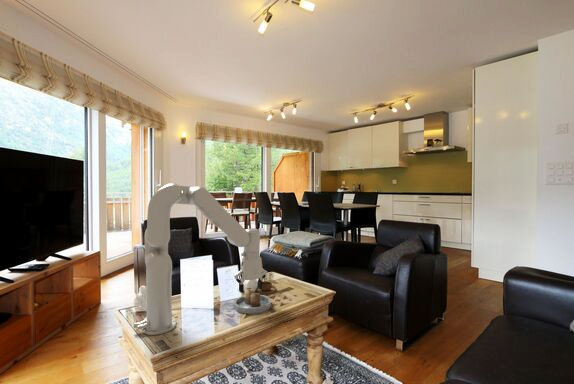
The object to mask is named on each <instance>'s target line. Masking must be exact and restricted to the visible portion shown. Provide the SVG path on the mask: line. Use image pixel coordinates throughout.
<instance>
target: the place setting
mask: <svg viewBox="0 0 574 384" xmlns="http://www.w3.org/2000/svg"><path fill="white" fill-rule="evenodd" d="M247 289H251V288H247ZM271 289H273V290H271ZM258 290H259V291H258ZM270 290H271V291H270ZM275 292H277V286H275V285H273V283H272V282H271V281H269V280H268V281H267V280H266V281H265V280H263V281H262V289H261V290H260V289H259V288H257V289H256V290H255V293H260V295H269V294H270V295H271V294H274V293H275Z"/></svg>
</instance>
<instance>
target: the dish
mask: <svg viewBox="0 0 574 384" xmlns="http://www.w3.org/2000/svg"><path fill="white" fill-rule="evenodd" d="M271 307H272V298H270V297H269V296H267V295H266V294H260V307H252V308H251V304H245V295H241V296H239V297H237V298H235V299H234V300H233V307H232V308H233V309H234V310H235V312H238V313H241V314H247V315H252V314H260V313H263V312H266V311H268V310H269V309H270V308H271Z"/></svg>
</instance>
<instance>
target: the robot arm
mask: <svg viewBox="0 0 574 384" xmlns="http://www.w3.org/2000/svg"><path fill="white" fill-rule="evenodd" d="M175 204H178V205H191V206H192V205H194V207H196V209H197V210H198V211H200V212H201V214H202V215H203V216H204V217H205V218H206V220H208V222H210V223H211V224H212V225H213V226H215V227H216V228H218V229H220V230H221V231H222V233H224V234H225V235H226V239H227V241H228V242H229V244H231V245H233V246H236V247H238V248H243V252H242V253H241V254H240V255H241V257H242V259H241V264H240V270H239V271H237V272H236V273H235V274H234V275H233V277H234V279H235V282H236V281H237V282H238V283H239V289H238V291H239V292H240V293H241V294H243V293H245V291H244V284H243V282H244V281H245V280H253V279H257V280H258V285H257V288H259V289H258V290H259V291H262V290H261V289H262V282H263V281H264V280H265V278H266V275H267V274H268V270H266V269H264V268H263V262H262V261H263V260H262V257H261V256H260V248H261V247H260V245H261V243H260V242H261V232H260V229H257V228H247V229H245V227H243V226H242V224H240V222H239V221H237V219H236V218H234V217H233V216H232V215H231V214H230V213H229V212H228V211H227V210H226V209H225V208H224V206H223V205H222V204H221V203H220V202H219V201H217V199H216V198H215V197H214V196H213V195H212V193H211V192H209V190H208V189H207V188H205V187H204V186H189V185H181V184H180V185H179V184H176V183H167V184H164V185H163V186H162V187H161V188H159V189H158V190H157V191H156V192H155V193H153V195H152V197H151V198H150V200H149V202H148V204H147V205H148V206H147V220H146V229H145V230H144V231H145V232H144V238H143V239H144V263H145V273H146V275H145V276H146V277H145V280H146V281H145V287H146V307H147V312H146V316H145V317H144V320H142V321H139V322H138V321H137V322H133V329H137V330H140V329H141V330H142V333H143V334H145V335H148V336H156V335H162V334H166V333H168V332H170V331H172V330H173V329H175V328H176V324H177V323H176V320H175V319H173V314H172V313H173V310H172V307H173V305H172V303H173V302H172V299H173V298H172V296H173V295H172V274H173V260H172V258H171V256H170V255H169V242H170V240H171V229H170V228H171V227H170V226H171V223H170V218H171V210H172V208H173V206H174V205H175ZM239 276H240V277H241V278H240V279H239V278H238V277H239Z"/></svg>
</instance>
